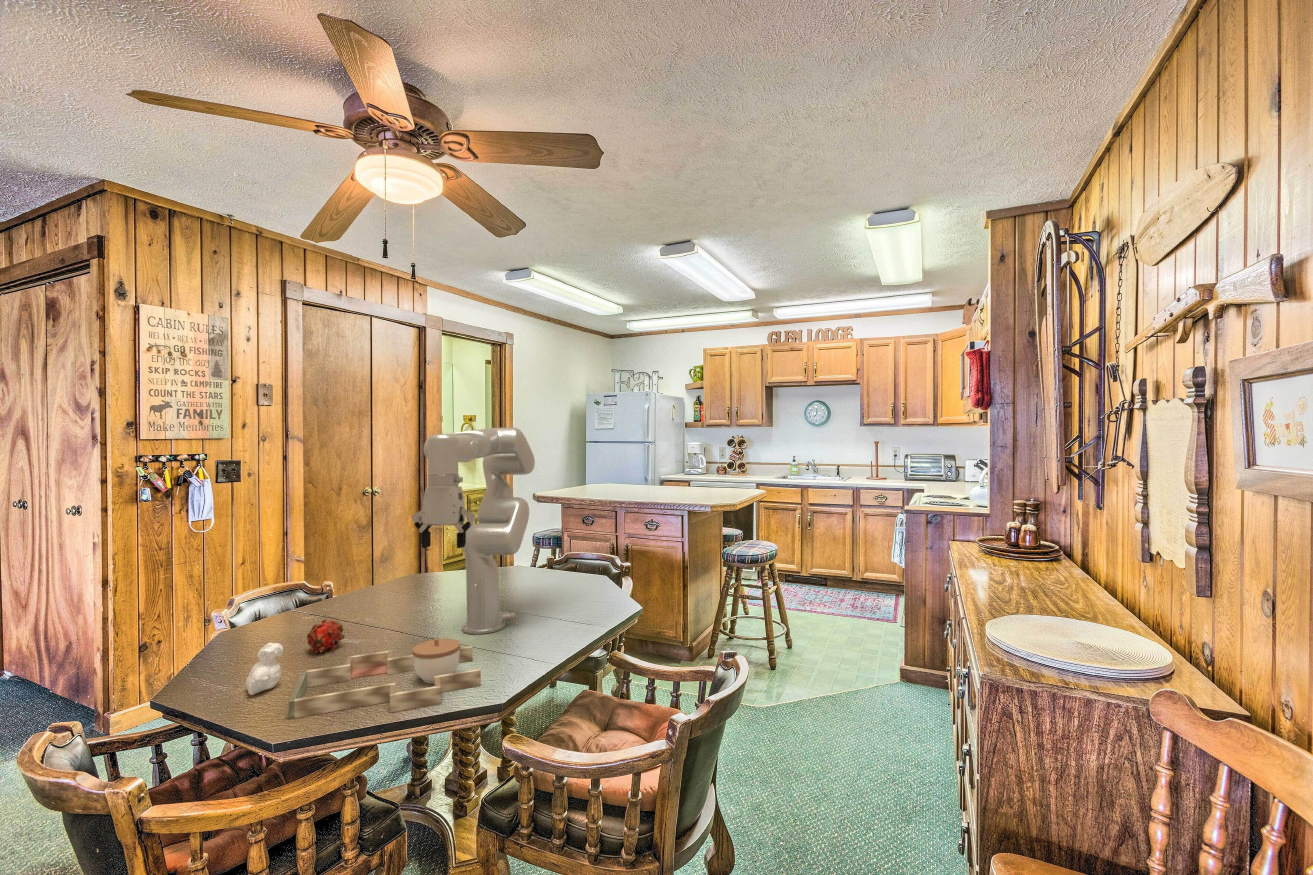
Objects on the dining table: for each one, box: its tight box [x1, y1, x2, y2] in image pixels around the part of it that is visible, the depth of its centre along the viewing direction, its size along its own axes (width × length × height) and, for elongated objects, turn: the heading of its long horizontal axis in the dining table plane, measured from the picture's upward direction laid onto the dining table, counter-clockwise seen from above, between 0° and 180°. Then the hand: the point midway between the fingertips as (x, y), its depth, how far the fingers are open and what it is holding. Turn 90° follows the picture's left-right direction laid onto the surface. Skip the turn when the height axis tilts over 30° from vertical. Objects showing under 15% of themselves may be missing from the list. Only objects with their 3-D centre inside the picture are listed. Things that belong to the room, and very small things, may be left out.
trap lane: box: [288, 645, 482, 720], centre depth 137 cm, size 38×30×4 cm
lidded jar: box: [411, 638, 461, 685], centre depth 141 cm, size 11×11×9 cm
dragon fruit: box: [306, 619, 346, 655], centre depth 163 cm, size 8×8×12 cm
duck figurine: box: [245, 642, 284, 696], centre depth 138 cm, size 12×8×11 cm
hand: (443, 547), depth 154 cm, fingers open, 9 cm apart
